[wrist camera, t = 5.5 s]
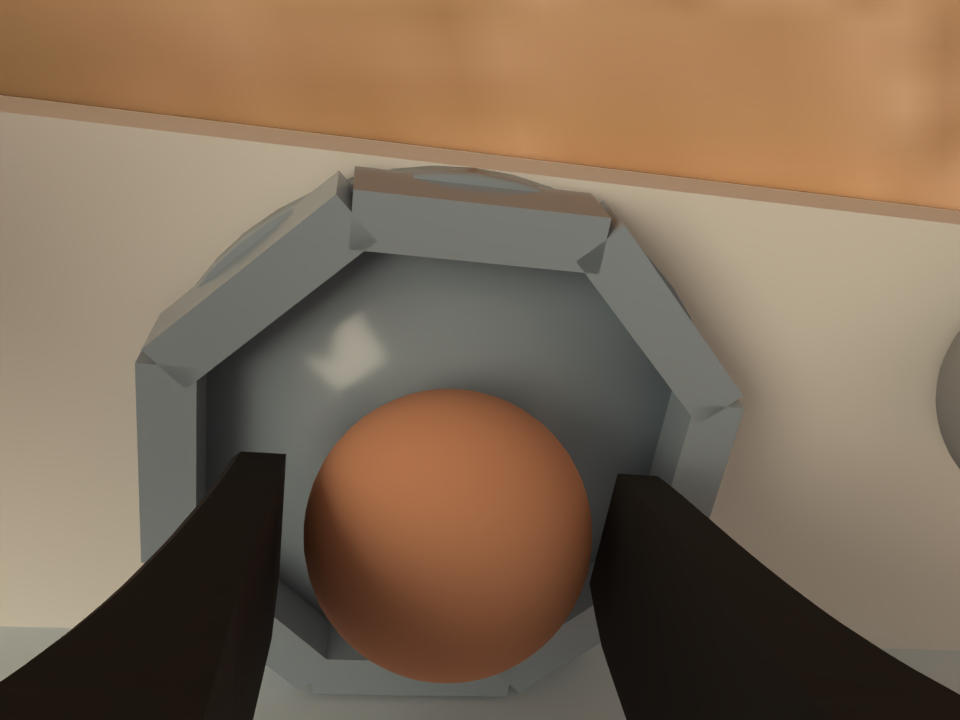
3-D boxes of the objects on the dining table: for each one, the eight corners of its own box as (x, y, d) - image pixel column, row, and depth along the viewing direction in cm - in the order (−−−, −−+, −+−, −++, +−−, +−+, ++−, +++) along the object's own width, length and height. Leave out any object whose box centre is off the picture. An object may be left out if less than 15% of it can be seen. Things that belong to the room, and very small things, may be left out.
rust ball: (541, 557, 15) (591, 752, 11) (308, 548, 14) (284, 751, 11) (583, 351, 13) (657, 507, 10) (320, 331, 13) (296, 488, 9)
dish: (633, 642, 17) (655, 702, 16) (158, 630, 16) (138, 696, 14) (763, 201, 13) (807, 232, 12) (147, 129, 12) (119, 155, 10)
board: (849, 872, 23) (868, 909, 22) (-81, 893, 19) (-103, 939, 19) (1179, 237, 16) (1228, 256, 15) (-262, 62, 12) (-313, 75, 11)
